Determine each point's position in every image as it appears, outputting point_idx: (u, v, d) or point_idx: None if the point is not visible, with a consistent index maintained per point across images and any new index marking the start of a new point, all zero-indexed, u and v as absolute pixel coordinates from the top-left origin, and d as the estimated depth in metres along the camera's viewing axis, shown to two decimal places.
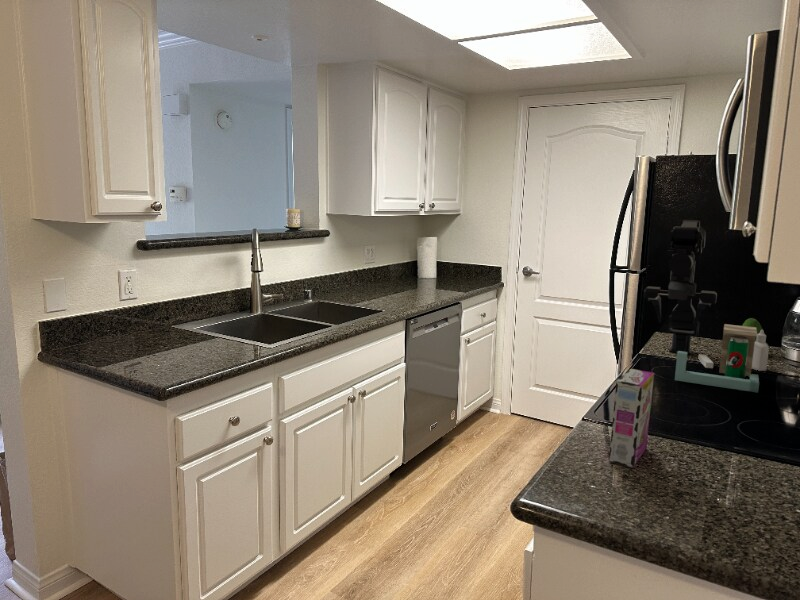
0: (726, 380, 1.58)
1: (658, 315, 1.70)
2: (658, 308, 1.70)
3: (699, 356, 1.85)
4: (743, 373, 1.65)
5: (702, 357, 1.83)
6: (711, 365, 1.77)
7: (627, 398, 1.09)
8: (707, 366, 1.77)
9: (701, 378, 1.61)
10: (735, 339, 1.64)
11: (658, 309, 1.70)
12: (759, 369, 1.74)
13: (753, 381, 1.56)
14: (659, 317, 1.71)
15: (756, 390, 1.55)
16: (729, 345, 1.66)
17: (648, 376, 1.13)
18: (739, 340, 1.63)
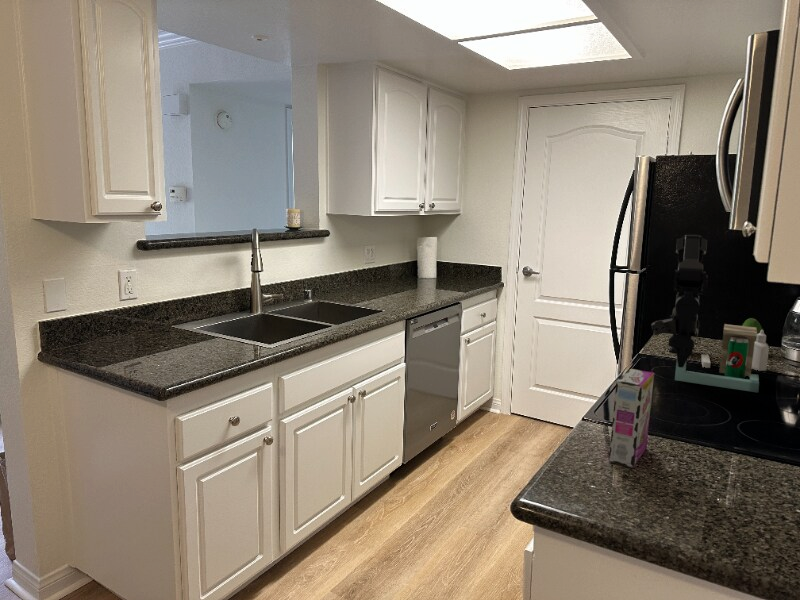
0: (726, 380, 1.58)
1: None
2: None
3: (701, 356, 1.85)
4: (743, 373, 1.65)
5: (702, 357, 1.83)
6: (708, 365, 1.77)
7: (627, 398, 1.09)
8: (704, 366, 1.78)
9: (701, 378, 1.61)
10: (735, 339, 1.64)
11: None
12: (759, 369, 1.74)
13: (753, 381, 1.56)
14: None
15: (756, 390, 1.55)
16: (729, 345, 1.66)
17: (648, 376, 1.13)
18: (739, 340, 1.63)
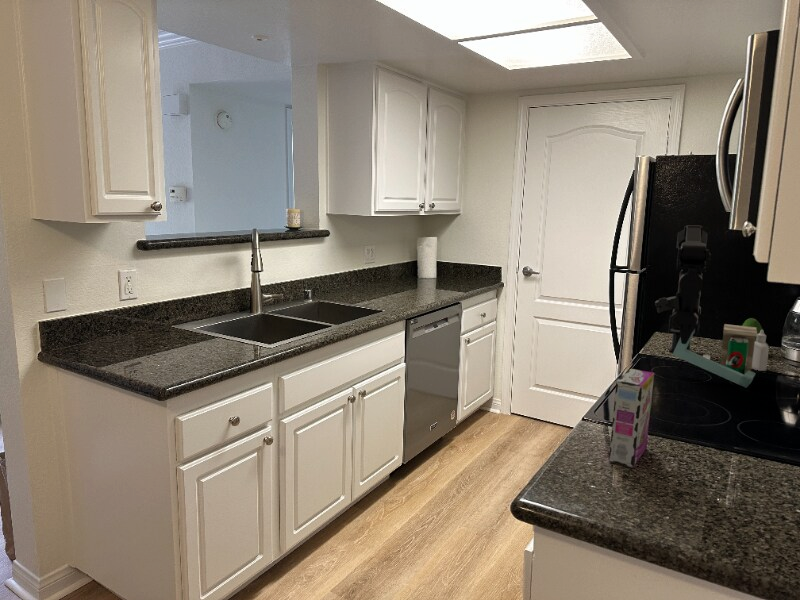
0: (720, 368, 1.61)
1: None
2: None
3: (703, 356, 1.85)
4: (743, 373, 1.65)
5: None
6: None
7: (627, 398, 1.09)
8: None
9: (698, 360, 1.64)
10: (735, 339, 1.64)
11: None
12: (759, 369, 1.74)
13: (746, 376, 1.58)
14: None
15: (745, 385, 1.58)
16: (729, 345, 1.66)
17: (648, 376, 1.13)
18: (739, 340, 1.63)
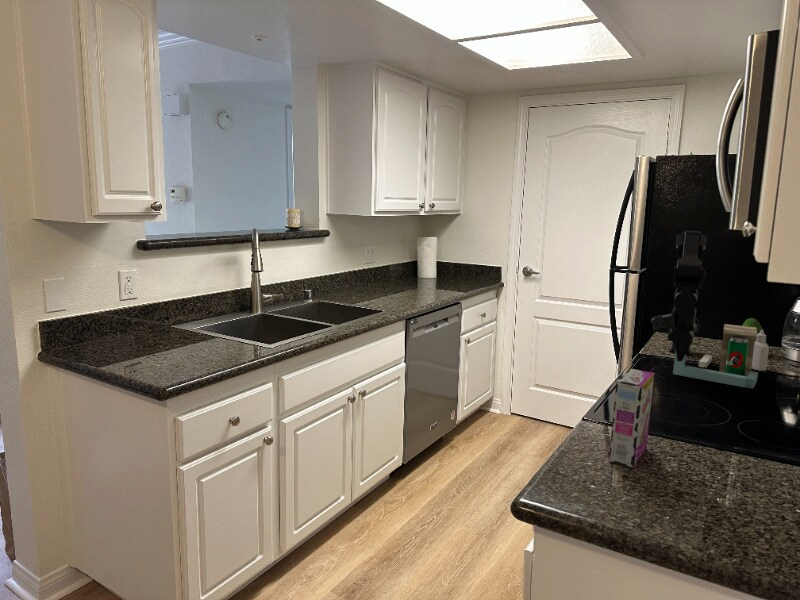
0: (722, 376, 1.62)
1: None
2: None
3: (704, 356, 1.85)
4: (743, 373, 1.65)
5: (703, 357, 1.83)
6: (704, 364, 1.77)
7: (627, 398, 1.09)
8: (700, 365, 1.78)
9: (698, 373, 1.65)
10: (735, 339, 1.64)
11: None
12: (759, 369, 1.74)
13: (749, 378, 1.59)
14: None
15: (751, 386, 1.58)
16: (729, 345, 1.66)
17: (648, 376, 1.13)
18: (739, 340, 1.63)
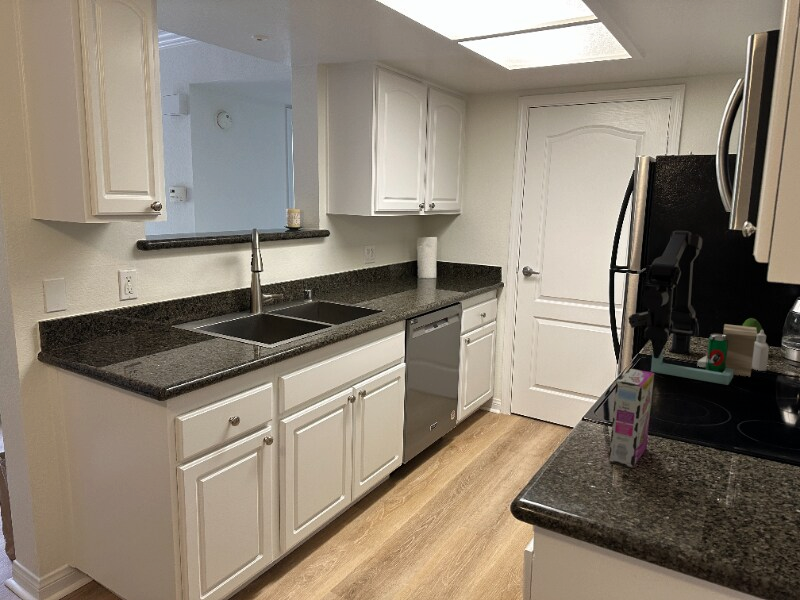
0: (698, 372, 1.65)
1: None
2: None
3: None
4: (723, 370, 1.67)
5: (703, 357, 1.83)
6: (702, 364, 1.78)
7: (627, 398, 1.09)
8: (698, 365, 1.79)
9: (675, 370, 1.68)
10: (716, 337, 1.66)
11: None
12: (759, 369, 1.74)
13: (724, 374, 1.62)
14: None
15: (726, 382, 1.61)
16: (710, 343, 1.67)
17: (648, 376, 1.13)
18: (720, 338, 1.65)
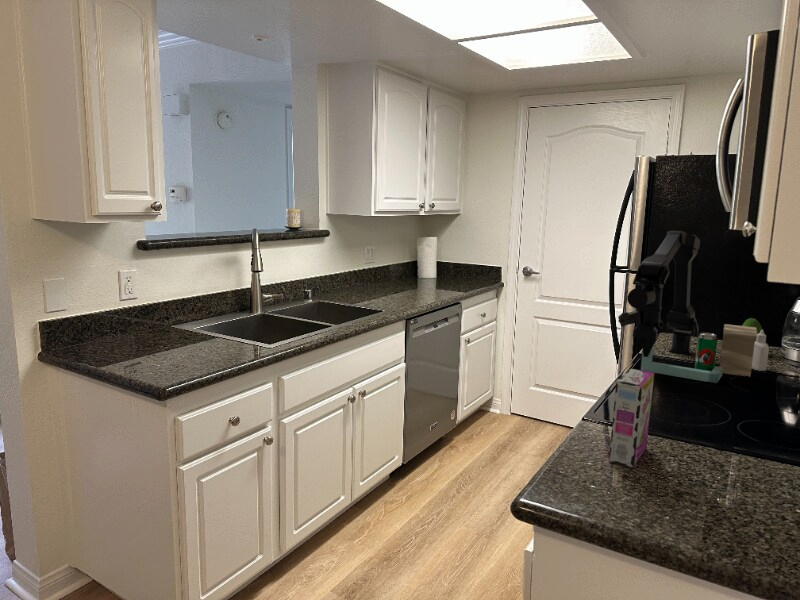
0: (687, 371, 1.66)
1: None
2: None
3: None
4: None
5: None
6: None
7: (627, 398, 1.09)
8: None
9: (665, 368, 1.69)
10: (706, 336, 1.67)
11: None
12: (759, 369, 1.74)
13: (713, 372, 1.63)
14: None
15: (715, 381, 1.62)
16: (699, 342, 1.68)
17: (648, 376, 1.13)
18: (710, 337, 1.66)
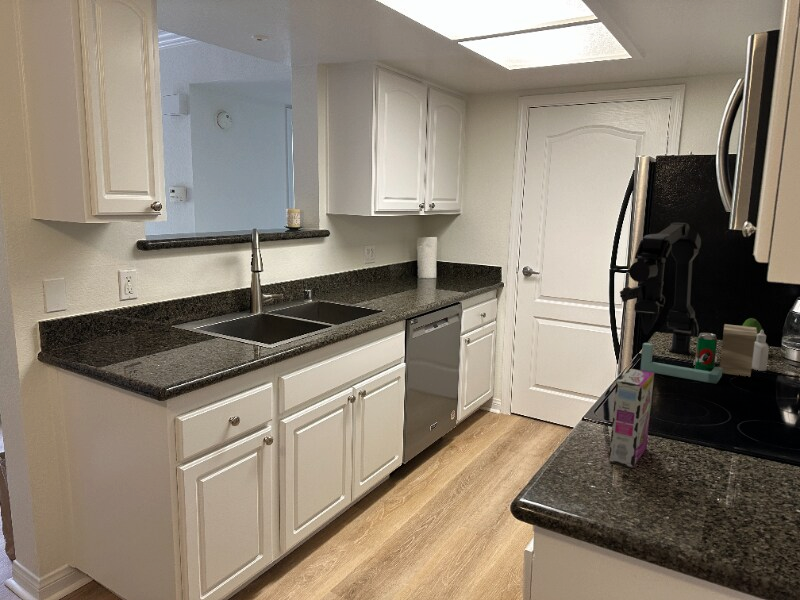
0: (687, 371, 1.66)
1: None
2: None
3: None
4: (712, 369, 1.68)
5: None
6: None
7: (627, 398, 1.09)
8: (694, 364, 1.80)
9: (664, 368, 1.70)
10: (705, 336, 1.67)
11: None
12: (759, 369, 1.74)
13: (712, 373, 1.63)
14: None
15: (714, 381, 1.62)
16: (699, 342, 1.68)
17: (648, 376, 1.13)
18: (709, 337, 1.66)
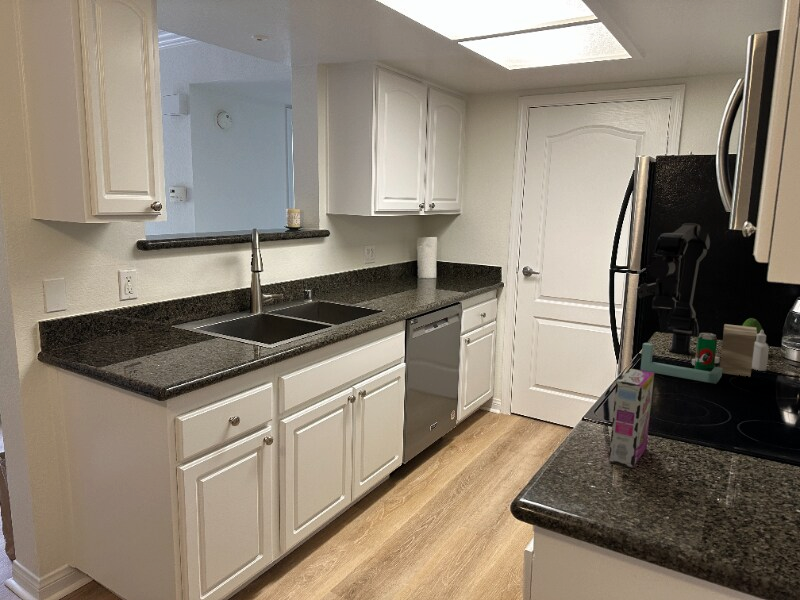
0: (687, 371, 1.66)
1: None
2: None
3: None
4: (712, 369, 1.68)
5: None
6: None
7: (627, 398, 1.09)
8: (692, 363, 1.80)
9: (664, 368, 1.70)
10: (705, 336, 1.67)
11: None
12: (759, 369, 1.74)
13: (712, 373, 1.63)
14: None
15: (714, 381, 1.62)
16: (699, 342, 1.68)
17: (648, 376, 1.13)
18: (709, 337, 1.66)
